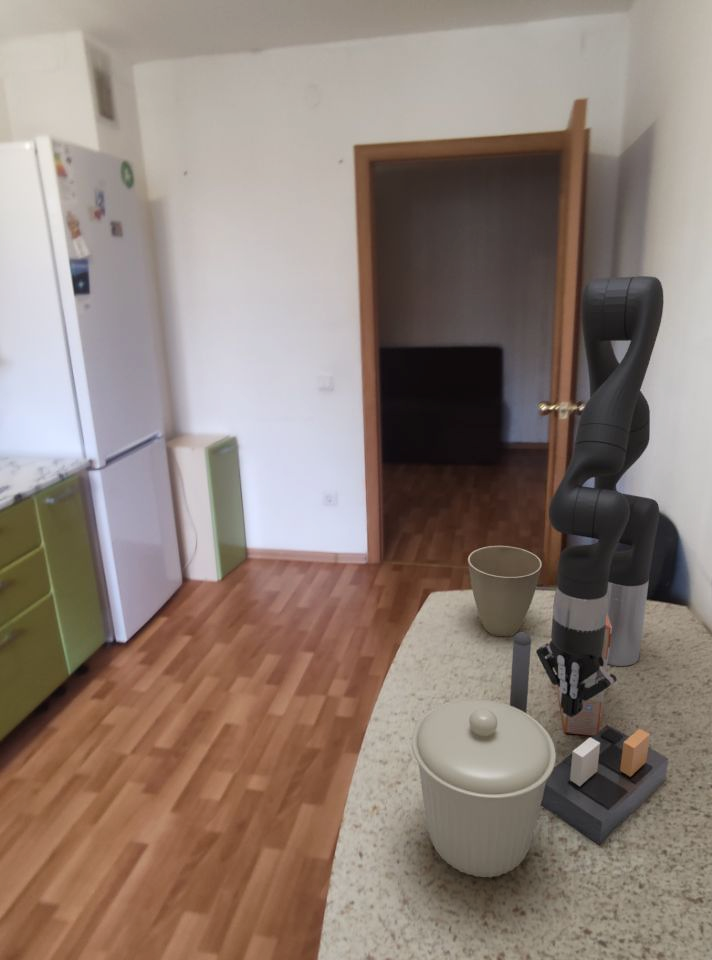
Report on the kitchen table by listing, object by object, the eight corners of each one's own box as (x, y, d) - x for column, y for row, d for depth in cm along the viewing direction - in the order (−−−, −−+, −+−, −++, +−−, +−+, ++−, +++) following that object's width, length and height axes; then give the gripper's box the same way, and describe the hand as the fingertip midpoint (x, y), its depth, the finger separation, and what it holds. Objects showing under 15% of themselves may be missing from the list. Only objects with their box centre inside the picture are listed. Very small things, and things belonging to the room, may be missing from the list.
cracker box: (601, 738, 108) (613, 627, 101) (562, 734, 109) (572, 623, 103) (589, 687, 121) (600, 585, 114) (555, 683, 122) (564, 582, 116)
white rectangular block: (587, 765, 96) (590, 737, 95) (597, 771, 95) (600, 742, 94) (569, 779, 94) (572, 751, 92) (579, 786, 93) (582, 757, 91)
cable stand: (509, 756, 105) (517, 615, 97) (547, 780, 100) (558, 634, 92) (480, 777, 101) (486, 632, 93) (518, 804, 95) (527, 653, 87)
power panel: (604, 745, 107) (607, 723, 105) (665, 780, 99) (668, 756, 98) (537, 801, 96) (539, 778, 94) (599, 845, 88) (602, 820, 87)
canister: (544, 801, 96) (554, 678, 89) (550, 916, 79) (563, 775, 73) (420, 783, 100) (421, 663, 93) (401, 888, 83) (401, 752, 77)
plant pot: (452, 621, 144) (453, 554, 139) (506, 604, 151) (509, 540, 146) (495, 654, 132) (498, 583, 127) (552, 635, 138) (557, 566, 133)
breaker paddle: (635, 756, 98) (639, 728, 96) (646, 762, 97) (650, 734, 95) (620, 770, 95) (623, 742, 94) (630, 776, 94) (634, 748, 92)
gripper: (634, 623, 95) (622, 723, 100) (555, 591, 105) (548, 684, 110) (606, 643, 90) (595, 746, 96) (526, 607, 100) (521, 703, 106)
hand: (570, 712), depth 103 cm, fingers closed
